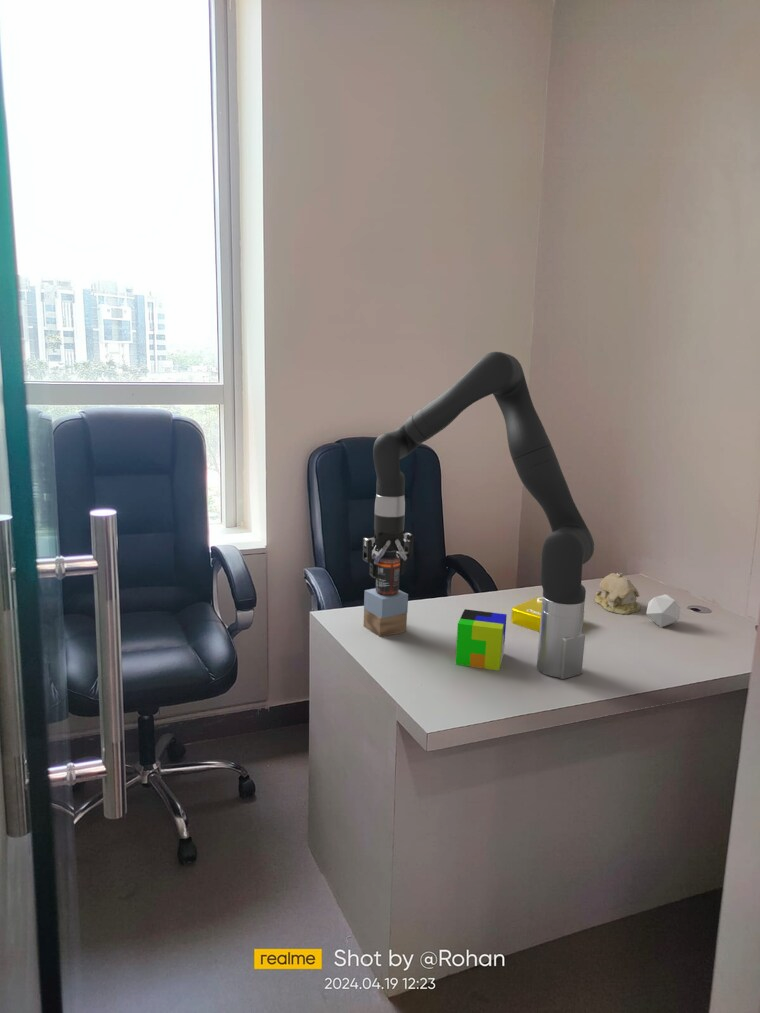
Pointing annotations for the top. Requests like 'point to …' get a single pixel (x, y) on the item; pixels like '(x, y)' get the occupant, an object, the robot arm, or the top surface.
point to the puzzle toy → (481, 639)
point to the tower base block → (385, 624)
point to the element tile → (528, 614)
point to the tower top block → (385, 603)
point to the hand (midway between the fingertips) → (387, 575)
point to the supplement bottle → (388, 574)
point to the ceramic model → (617, 594)
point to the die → (663, 610)
